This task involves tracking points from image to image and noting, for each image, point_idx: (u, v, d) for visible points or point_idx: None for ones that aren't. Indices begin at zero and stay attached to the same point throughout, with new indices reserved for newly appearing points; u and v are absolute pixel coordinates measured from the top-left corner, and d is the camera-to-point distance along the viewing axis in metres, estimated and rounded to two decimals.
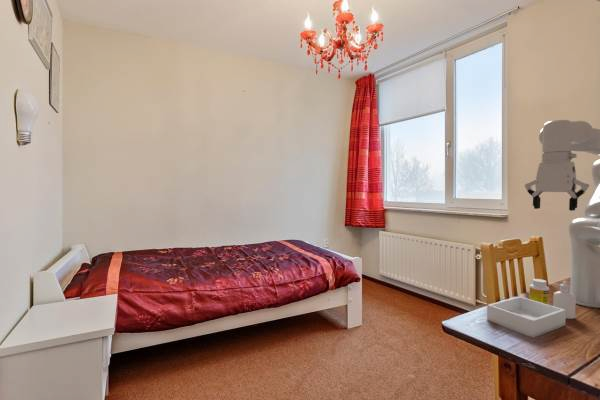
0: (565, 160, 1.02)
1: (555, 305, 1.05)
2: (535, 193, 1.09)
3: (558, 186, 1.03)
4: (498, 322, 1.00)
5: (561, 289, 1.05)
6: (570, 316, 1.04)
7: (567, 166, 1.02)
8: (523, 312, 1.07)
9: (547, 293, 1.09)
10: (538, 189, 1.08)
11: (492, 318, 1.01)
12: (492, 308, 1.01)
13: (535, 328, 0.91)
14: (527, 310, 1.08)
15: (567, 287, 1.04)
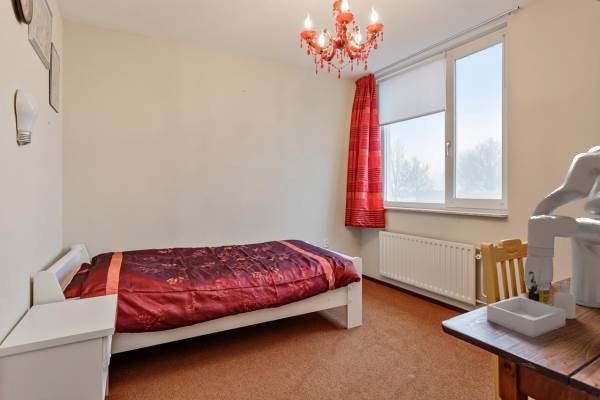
0: None
1: (555, 305, 1.05)
2: (538, 290, 1.09)
3: (549, 279, 1.10)
4: (498, 322, 1.00)
5: (561, 289, 1.05)
6: (570, 316, 1.04)
7: (551, 259, 1.11)
8: (523, 312, 1.07)
9: (547, 293, 1.09)
10: (539, 284, 1.08)
11: (492, 318, 1.01)
12: (492, 308, 1.01)
13: (535, 328, 0.91)
14: (527, 310, 1.08)
15: (567, 287, 1.04)
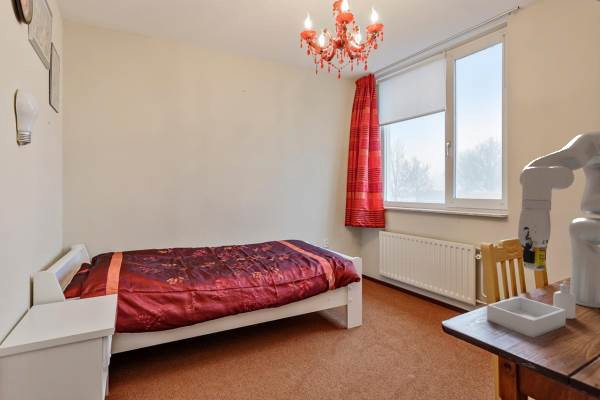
0: None
1: (555, 305, 1.05)
2: (533, 246, 0.99)
3: (545, 235, 1.00)
4: (498, 322, 1.00)
5: (561, 289, 1.05)
6: (570, 316, 1.04)
7: (548, 214, 1.01)
8: (523, 312, 1.07)
9: (543, 250, 0.99)
10: (534, 239, 0.98)
11: (492, 318, 1.01)
12: (492, 308, 1.01)
13: (535, 328, 0.91)
14: (527, 310, 1.08)
15: (567, 287, 1.04)
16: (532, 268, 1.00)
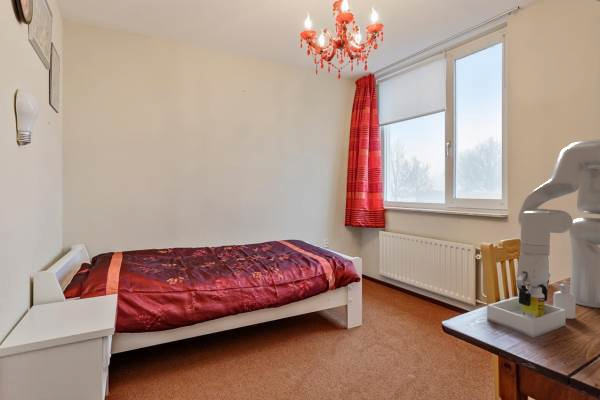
0: None
1: (555, 305, 1.05)
2: (529, 289, 0.99)
3: (544, 279, 1.01)
4: (498, 322, 1.00)
5: (561, 289, 1.05)
6: (570, 316, 1.04)
7: (547, 258, 1.02)
8: None
9: (542, 301, 1.00)
10: (533, 284, 0.99)
11: (492, 318, 1.01)
12: (492, 308, 1.01)
13: (535, 328, 0.91)
14: None
15: (567, 287, 1.04)
16: (531, 318, 1.01)
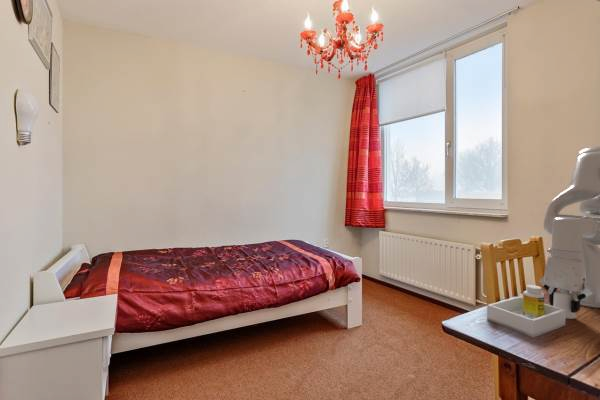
0: None
1: (555, 305, 1.05)
2: None
3: None
4: (498, 322, 1.00)
5: (561, 289, 1.05)
6: (570, 316, 1.04)
7: None
8: None
9: (542, 301, 1.00)
10: None
11: (492, 318, 1.01)
12: (492, 308, 1.01)
13: (535, 328, 0.91)
14: None
15: None
16: (531, 318, 1.01)
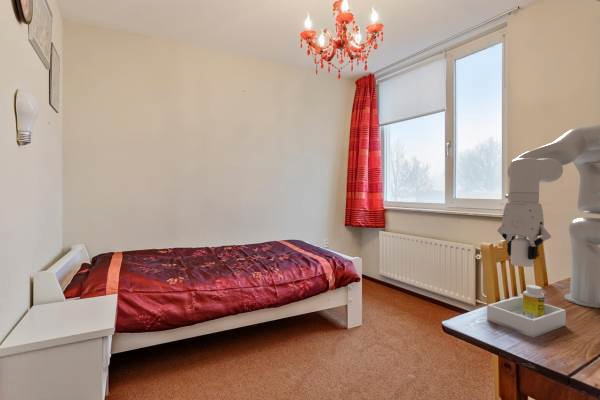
0: None
1: (512, 253, 0.98)
2: None
3: None
4: (498, 322, 1.00)
5: (519, 236, 0.98)
6: (527, 264, 0.96)
7: None
8: None
9: (542, 301, 1.00)
10: None
11: (492, 318, 1.01)
12: (492, 308, 1.01)
13: (535, 328, 0.91)
14: None
15: None
16: (531, 318, 1.01)
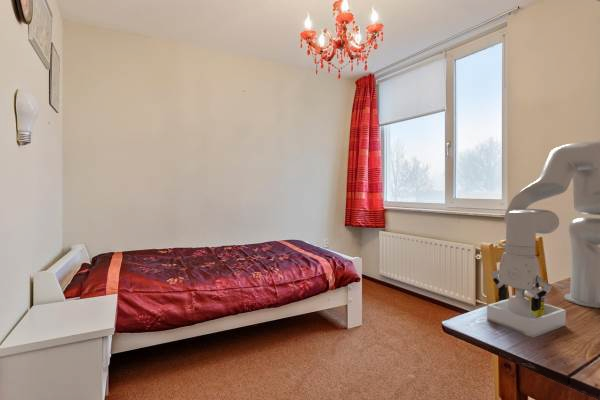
0: None
1: (510, 311, 0.99)
2: None
3: None
4: (498, 322, 1.00)
5: (516, 293, 0.98)
6: None
7: None
8: None
9: (542, 301, 1.00)
10: None
11: (492, 318, 1.01)
12: (492, 308, 1.01)
13: (535, 328, 0.91)
14: None
15: (522, 291, 0.97)
16: (531, 318, 1.01)
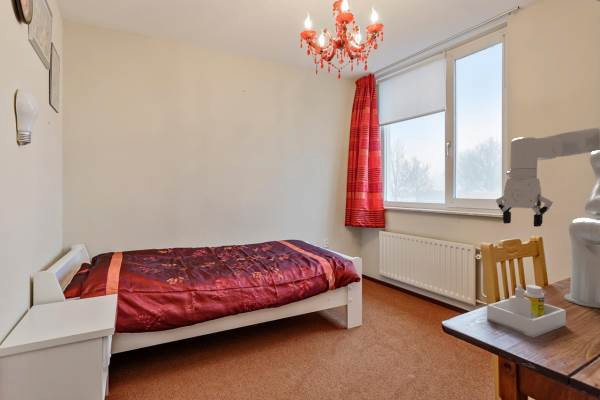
0: None
1: (510, 311, 0.99)
2: None
3: None
4: (498, 322, 1.00)
5: (516, 293, 0.98)
6: None
7: None
8: None
9: (542, 301, 1.00)
10: None
11: (492, 318, 1.01)
12: (492, 308, 1.01)
13: (535, 328, 0.91)
14: None
15: (522, 291, 0.97)
16: (531, 318, 1.01)
